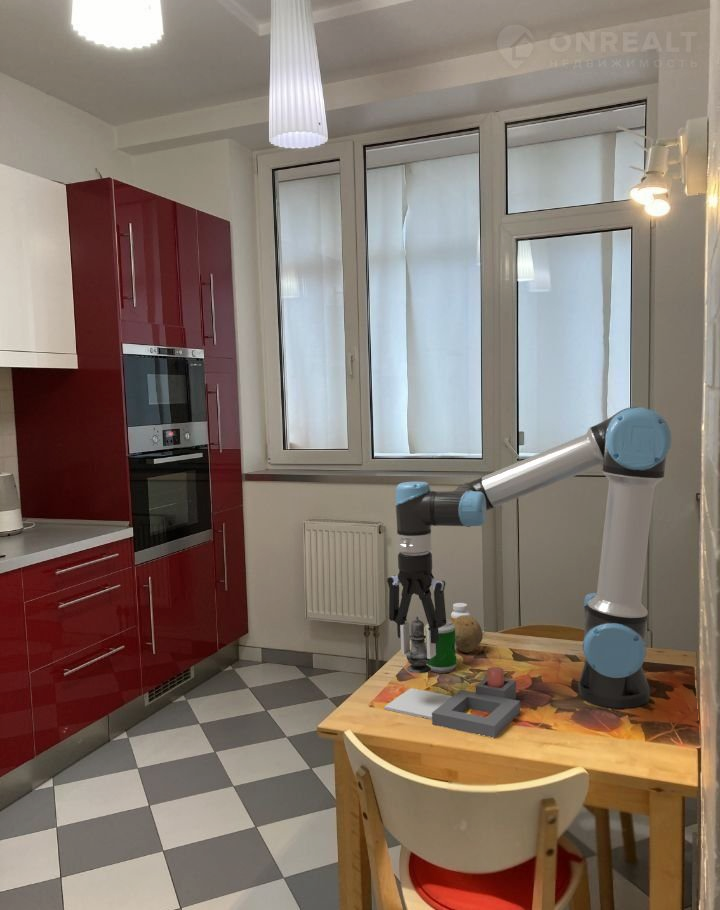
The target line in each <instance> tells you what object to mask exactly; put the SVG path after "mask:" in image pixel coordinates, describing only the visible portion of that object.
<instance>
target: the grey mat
mask: <svg viewBox="0 0 720 910" xmlns="http://www.w3.org/2000/svg"><path fill="white" fill-rule="evenodd" d="M452 696H453V695H447V694H442V693H437V692H432V691H429V690H424V689H423V690H422V689H418V688H417V689H416V688H414V687H411V688H409V689H408V690H406V691H405V692H403V693H401V695H399V696H397V697H395V698H394V699H393V700H392V701H390V702H389V703H387V704H386V705H385V706H384V707H383V709H384V710H386V711H389V712H390V711H391V712H394V713H400V714H404V715H409V716H412V715H413V716H414V717H417V716H420V717H419V718H422V717H424V718H423V719H426V718H428V719H427V720H431V721H432V712H433V711H435V710H436V709H437V708H438V707H440V706H441V705H442V704H444V703H445V702H446V701H447V700H449V699H450V698H451V697H452Z"/></svg>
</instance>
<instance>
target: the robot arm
mask: <svg viewBox="0 0 720 910" xmlns="http://www.w3.org/2000/svg"><path fill="white" fill-rule="evenodd" d="M671 444H672V434H671V429H670V427H669V425H668V423H667V421H666V420H665V418H664V417H663V416H662V415H660V414H659V413H658V412H657V411H655V410H652V409H650V408H648V407H647V408H646V407H641V406H633V407H632V406H630V407H627V408H624V409H621V410H620V411H618V412H616V413H615V414H613V415H612V416H610V417H609V418H607V419H605V420H603V421H601V422H600V423H597V424H595V425H592V426H590V427H589V428H588V430H587V432H586V433H585V434H583V435H581V436H578V437H575V438H573V439H571V440H568V441H566V442H564V443H561V444H559V445H556V446H553V447H552V448H548V449H547V450H545V451H542V452H540V453H537V454H535V455H532V456H530V457H526V459H522V460H520V461H518V462H515V463H513V464H510V465H508V466H505V467H503V468H501V469H499V470H495V471H493V472H491V473H489V474H486V475H484V476H482V477H479V478H477V479H474V480H472V481H469V482H468V481H467V482H463V484H459V486H457V487H456V488H455V489H454V490H450V491H449V490H448V491H446V490H445V491H434V490H431V488H430V484H429V483H428V482H426V481H406V482H405V481H403V482H400V483H399V484H398V485H396V487H395V503H394V505H395V514H396V531H397V532H396V533H397V534H396V535H397V536H396V537H397V538H396V539H397V551H398V552H399V553H398V555H397V566H398V570H399V571H398V574H397V575H391V576H389V577H388V578H387V579H386V581H387V585H388V588H389V589H388V594H389V595H388V619H389V620H390V621H391V622H395V623H396V626H397V627H396V629H397V630H396V631H397V632H396V633H397V638H398V639H400V654H401V655H405V653H406V652H407V651H409V650H411V638H410V636H411V635H410V634H411V633H410V622H408V619H407V617H408V612H409V610H410V609H409V608H410V604H411V601H412V596H413V595H418V599H419V600H420V601H421V604H422V608H423V610H424V613H425V617H426V621H427V624H428V625H429V628H428V629H426V632H425V636H426V638H425V640H426V639H427V659H431V658H432V657H434V656H436V643H437V642H438V640H439V634H438V628H440V627H442V626H444V625H445V624H446V619H447V611H446V601H445V600H446V599H445V588H446V587H445V586H446V581H445V580H438V579H435V577H434V575H433V553H431V550H432V549H433V547H432V526H434V527H439V526H442V527H444V526H445V527H466V528H470V527H480V526H483V525H484V524H485V522H486V519H487V511H489V510H492V509H494V508H496V507H499V506H501V505H504V504H506V503H509V502H511V501H513V500H517V499H520V498H521V497H524V496H526V495H529V494H533V493H534V492H538V491H539V490H541V489H542V490H543V489H545V488H548V487H549V486H553V485H554V484H557V483H560V482H562V481H565V480H567V479H570V478H572V477H575V476H578V475H580V474H583V473H585V472H588V471H590V470H593V469H595V468H598V467H602V471H601V472H602V473H603V475H604V476H605V477H606V478H607V480H608V487H607V488H608V489H607V498H606V508H605V515H604V516H605V517H604V523H603V525H604V526H603V532H602V533H603V535H602V541H601V543H602V545H601V551H600V552H601V553H600V560H599V571H598V578H597V580H598V581H597V588H596V592H591V593H588V594H586V595H585V597H584V601H583V603H584V604H583V609H584V632H583V642H582V652H583V656H585V661H584V664H583V668H582V671H581V673H580V676H579V680H578V695H579V696H580V697H581V698H582V699H583V700H584V701H586V702H589V703H591V704H594V705H597V706H601V707H605V708H606V707H607V708H615V709H629V708H630V709H631V708H636V707H641V706H643V705H646V704H647V703H649V701H650V699H651V695H650V693H651V692H650V691H651V690H650V685H649V682H648V680H647V677H646V674H645V671H644V669H643V664H644V661H645V659H646V656H647V649H646V643H645V641H646V640H645V638H646V633H647V631H646V629H647V622H648V621H647V620H648V615H649V614H648V613H649V611H648V609H647V608H646V607H645V606H644V605H643V604H642V595H643V586H644V579H645V572H646V571H645V569H646V560H647V554H648V553H647V552H648V544H649V535H650V526H651V525H650V524H651V517H652V510H653V509H652V508H653V501H654V491H655V487H656V485H657V484H659V483H660V482H661V481H663V480H664V478H665V470H666V469H665V468H666V463H667V461H666V460H667V455H668V453H669V450H670V449H671ZM400 584H401V586H402V590H401V593H400ZM431 586H432V590H433V598H434V599H432V592H431V589H430V588H431ZM400 594H401V595H400ZM400 596H401V599H400ZM433 600H434V601H433ZM433 602H434V603H433Z"/></svg>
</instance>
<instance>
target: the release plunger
mask: <svg viewBox="0 0 720 910" xmlns="http://www.w3.org/2000/svg"><path fill="white" fill-rule="evenodd" d="M486 673H487V675H486V677H487V679H488V686H492V687H497V688H502V687H503V686H504V679H505V677H504V676H505V675H504V674H505V672H504V669H503V668H502V667H500V666H498V667H497V666H492V667H488V668H487V669H486Z"/></svg>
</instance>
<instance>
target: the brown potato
mask: <svg viewBox="0 0 720 910" xmlns="http://www.w3.org/2000/svg"><path fill="white" fill-rule="evenodd" d="M453 624H454V625H455V636H456V648H458V649H459V650H460V651H462V652H463V653H466V654H468V653H472V652H473V651H474V650H475V649H476V648H477V647H478V646H479V645H480V644H481V643H482V641H483V638H484V636H483V634H484V633H483V631H482V628H481V625H480V623H479V622H478V620H477V619H475V618H474V617H472V616H471V615H470V616H467V615H462V616H459V617H457V618H456V619H455V620H454V621H453Z"/></svg>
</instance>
